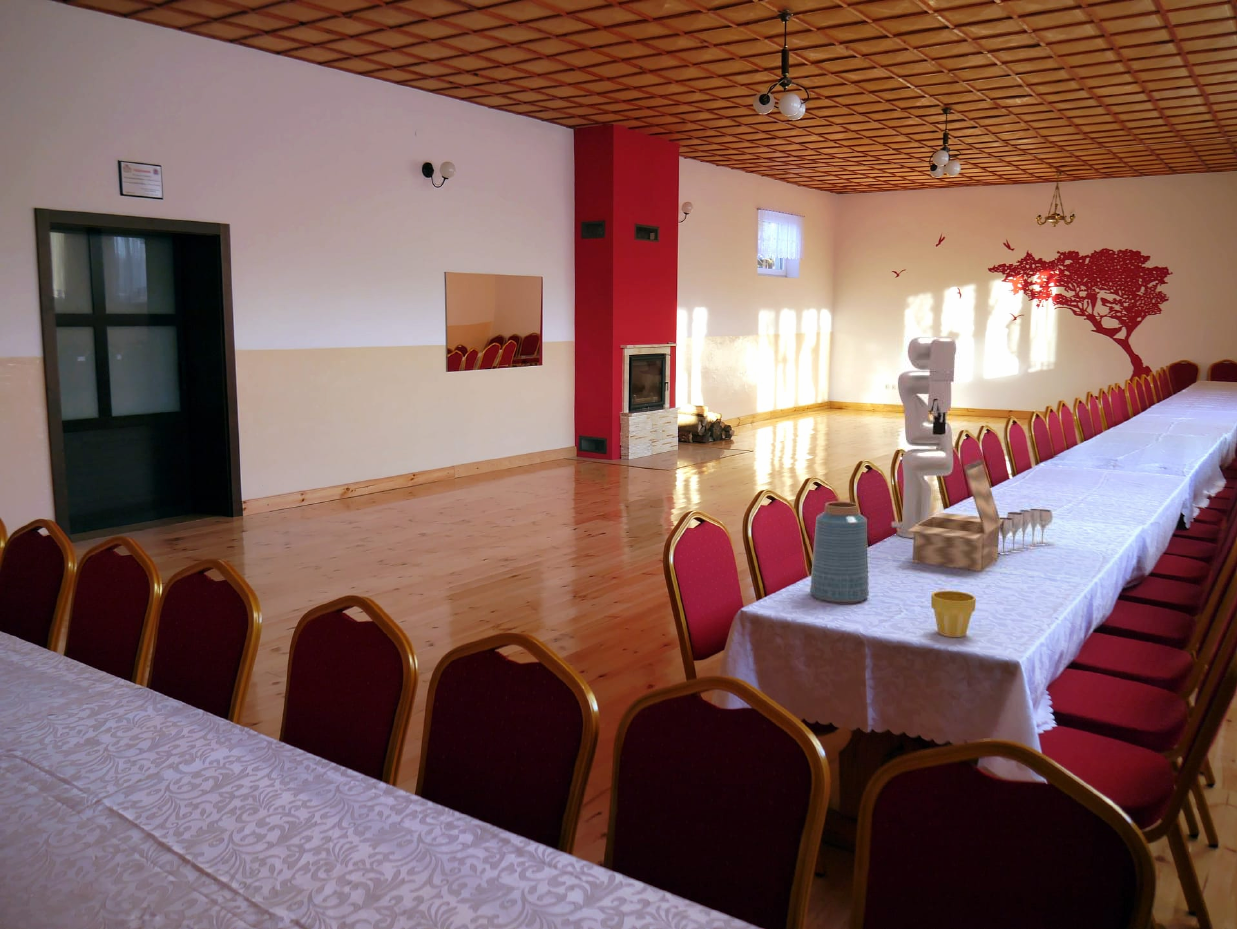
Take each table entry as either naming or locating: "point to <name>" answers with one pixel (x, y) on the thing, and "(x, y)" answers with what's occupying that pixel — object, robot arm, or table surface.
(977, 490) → the lid flap
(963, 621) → the plant pot
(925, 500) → the robot arm
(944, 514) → the carton
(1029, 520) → the goblet set
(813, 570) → the vase
